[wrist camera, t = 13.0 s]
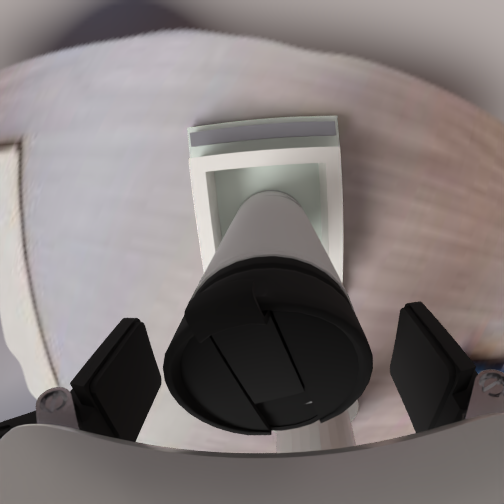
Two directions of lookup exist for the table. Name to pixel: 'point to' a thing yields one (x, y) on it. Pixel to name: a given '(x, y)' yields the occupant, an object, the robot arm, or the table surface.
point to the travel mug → (268, 328)
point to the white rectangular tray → (267, 175)
